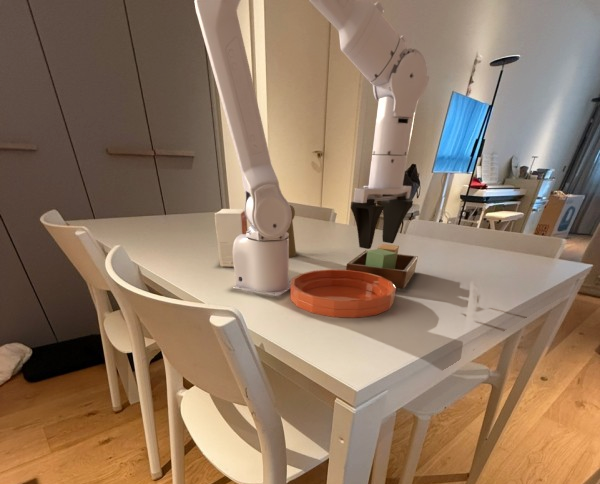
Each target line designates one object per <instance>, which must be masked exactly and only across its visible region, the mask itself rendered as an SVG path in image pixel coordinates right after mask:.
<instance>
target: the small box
mask: <svg viewBox="0 0 600 484" xmlns="http://www.w3.org/2000/svg"><path fill="white" fill-rule="evenodd" d="M214 222H215V223H214V224H215V232H216V240H217V248H218V249H217V250H218V256H219V264H220V267H230V268H231V267H232V268H234V263H233V245H234V242H235V239H236V238H237V237H238V236H239V235H242V234H246V232H247V231H248V220H247V218H246V215H245V210H244V208H221V210H219V211H217V212H214Z"/></svg>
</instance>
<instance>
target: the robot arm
mask: <svg viewBox="0 0 600 484" xmlns="http://www.w3.org/2000/svg"><path fill="white" fill-rule="evenodd" d="M308 1H309V3H311V4H312V5H313V7H314V8H315V9H316V10H317V11H318V12H319V13H320V14H321V15H322V16H324V18H325V19H326V20H327V21H328V22H330V24H331V25H332V26H333V27H334V28H335V29H336V30H337V32H338V36H339V48H340V51H341V52H342V53H343V55H345V56H346V58H347V59H348V60H349V61H350V62H351V63H352V64H353V65H354V67H355V68H356V69H357V70H358V71H359V72H360V73H361V74H362V75H363V76H364V78H365V79H366V80H367V81H368V82H369V83H370V84H371V86H372V91H373V96H374V99H375V101H376V102H377V103H378V104H377V111H376V118H375V128H374V136H373V144H372V145H373V146H372V151H371V152H372V153H371V154H372V155H371V162H370V170H369V176H368V177H369V178H368V185H363V186H362V187H356V188H355V187H354V194H353V201H351V202H350V210H351V212H352V215H353V217H354V221H355V225H356V230H357V237H358V238H357V239H358V247H359V248H361V249H365V250H371V248H372V246H373V243H374V238H375V233H376V229H377V225H378V223H379V220H380V217H381V215H383V217H382V218H383V219H382V220H383V221H382V222H383V224H382V235H381V237H382V242H383V243H387V244H394V242H395V240H396V238H397V235H398V232H399V230H400V228H401V226H402V223H403V221H404V219H405V218H406V215H407V214H408V213H409V211H410V209H411V208H412V207H413V204H414V200H413V199H412V200H411V199H410V197H411V193H412V186H411V185H404V180H405V174H406V168H407V161H408V155H409V149H410V144H411V139H412V138H411V137H412V132H413V126H414V119H415V115H416V112H417V106H418V103H419V100H420V98H421V97H422V96H423V95H424V92H426V90H427V87H428V84H429V80H430V76H429V75H428V74H427V70H428V69H427V62H426V59H425V57H424V55H423V53H422V52H421V51H420V50H418V49H417V48H413V47H412V48H411V47H410V48H408V47H407V42H408V40H407V39H406V38H405V36H404V35H401V36H400V35H399V34H398V32H397V31H396V29H395V28H394V27H393V26H392V25H391V23H390V22H389V21H388V19H387V18H386V17H385V16H384V12H385V7H384V6H383V4H382V3H381V1H380V0H377V1H376V2H373V0H308ZM240 3H241V0H194V6H195V7H194V8H195V13H196V16H197V20H198V23H199V27H200V31H201V33H202V37H203V41H204V45H205V48H206V51H207V52H206V53H207V55H208V59H209V62H210V63H209V64H210V66H211V70H212V73H213V77H214V80H215V84H216V87H217V88H216V89H217V91H218V95H219V98H220V102H221V106H222V109H223V113H224V116H225V119H226V123H227V127H228V130H229V134H230V138H231V142H232V145H233V148H234V152H235V155H236V159H237V163H238V166H239V170H240V174H241V181H242V183H241V184H242V188H243V191H244V194H245V195H244V207H243V209H244V210H245V215H246V218H247V222H248V223H249V224H250V226H249V227H248V228H247V230H248V231H247V232H246V234H242V235H239V236H238V237H237V238H236V239H235V242H234V245H233V263H234V267H233V275H234V283H235V286H233V289H234V290H235V289H236V290H240V291H246V292H252V293H258V294H262V295H263V294H264V295H268V296H274V297H280V296H282V295H283V294H285V293H286V292H288V291H289V290H291V281H290V257H289V233H288V232H286V231H287V230H288V228H289V227H290V224H291V220H292V212H291V208H290V205H291V204H289V202H288V200H287V199H286V198H285V196H284V194H283V193H282V189H281V186H280V183H279V180H278V177H277V174H276V172H275V170H274V167H273V165H272V160H271V156H270V151H269V148H268V144H267V138H266V133H265V131H264V126H263V121H262V117H261V113H260V108H259V103H258V99H257V95H256V91H255V85H254V82H253V78H252V73H251V69H250V65H249V60H248V55H247V51H246V47H245V43H244V38H243V34H242V33H243V32H242V29H241V25H240V21H239V15H238V8H239V6H240ZM383 195H385V196H383ZM376 202H380V203H381V205H379V204H377V203H376ZM292 221H293V220H292Z"/></svg>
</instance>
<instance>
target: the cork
mask: <svg viewBox="0 0 600 484" xmlns="http://www.w3.org/2000/svg"><path fill="white" fill-rule="evenodd" d="M289 205H290V208H291V212H292V220H291V224H290V227H289V228H288V230H287V231H286V232H288V233H289V258H291V257H295V256H296V255H297V249H296V242H295V232H294V221H293V220H294V219H295V216H296V211H295V210H296V209H295V208H294V205H291V204H289Z"/></svg>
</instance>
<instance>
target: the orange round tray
mask: <svg viewBox="0 0 600 484" xmlns="http://www.w3.org/2000/svg"><path fill="white" fill-rule="evenodd" d="M290 282H291V289H290V301H291V302H292V303H293V304H294V305H295V306H296V307H297V308H299V309H301V310H304V311H307V312H309V313H312V314H316V315H320V316H321V315H322V316H327V317H332V318H355V319H357V318H365V317H371V316H377V315H379V314H382V313H384V312H386V311H389V310H390V309H391V307H392V305H393V304H394V301H395V295H396V291H397V288H395V286H394V284H393V283H392V282H391V281H389V280H387V279H385V278H383V277H381V276H378V275H374V274H370V273H367V272H360V271H352V270H346V269H319V270H312V271H306V272H304V273H303V272H302V273H300V274H298V275H296V276H294V277H293V278H291V281H290Z"/></svg>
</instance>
